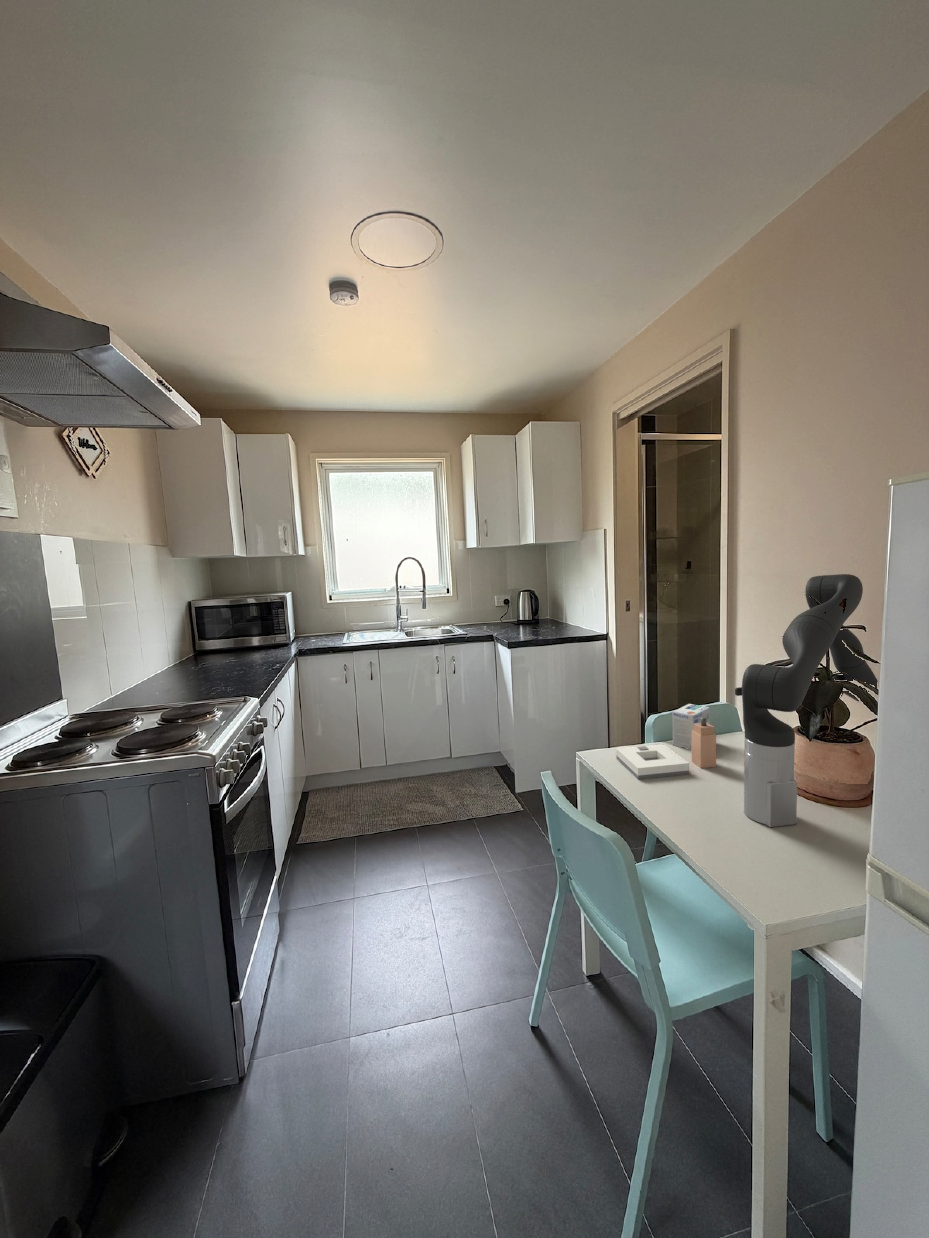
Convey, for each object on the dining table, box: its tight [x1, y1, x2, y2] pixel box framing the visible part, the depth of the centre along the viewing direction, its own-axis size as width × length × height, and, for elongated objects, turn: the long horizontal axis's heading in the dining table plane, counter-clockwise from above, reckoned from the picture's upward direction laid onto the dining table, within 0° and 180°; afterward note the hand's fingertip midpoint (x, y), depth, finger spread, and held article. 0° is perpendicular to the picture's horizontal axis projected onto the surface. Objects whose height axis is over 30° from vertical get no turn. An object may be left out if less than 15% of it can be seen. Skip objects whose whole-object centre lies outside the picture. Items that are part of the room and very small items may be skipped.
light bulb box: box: [671, 703, 710, 750], centre depth 153 cm, size 11×7×11 cm, turn 130°
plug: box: [691, 717, 717, 769], centre depth 138 cm, size 4×4×13 cm
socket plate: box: [615, 743, 690, 780], centre depth 139 cm, size 14×14×3 cm
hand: (745, 696), depth 137 cm, fingers open, 8 cm apart
